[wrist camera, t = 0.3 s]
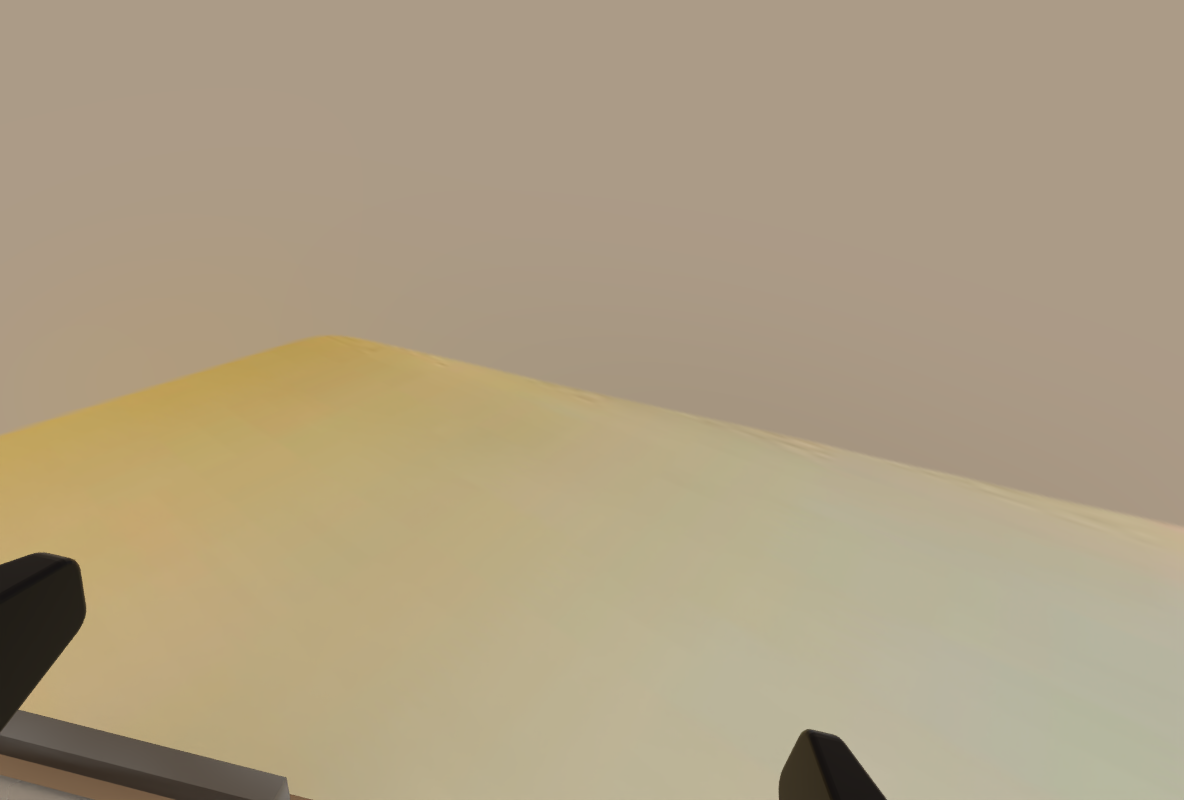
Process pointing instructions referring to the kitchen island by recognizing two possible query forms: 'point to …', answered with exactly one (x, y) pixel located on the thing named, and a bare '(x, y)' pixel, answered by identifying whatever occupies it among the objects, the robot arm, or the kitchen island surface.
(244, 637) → the kitchen island surface
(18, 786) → the steel flap
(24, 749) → the brown box
